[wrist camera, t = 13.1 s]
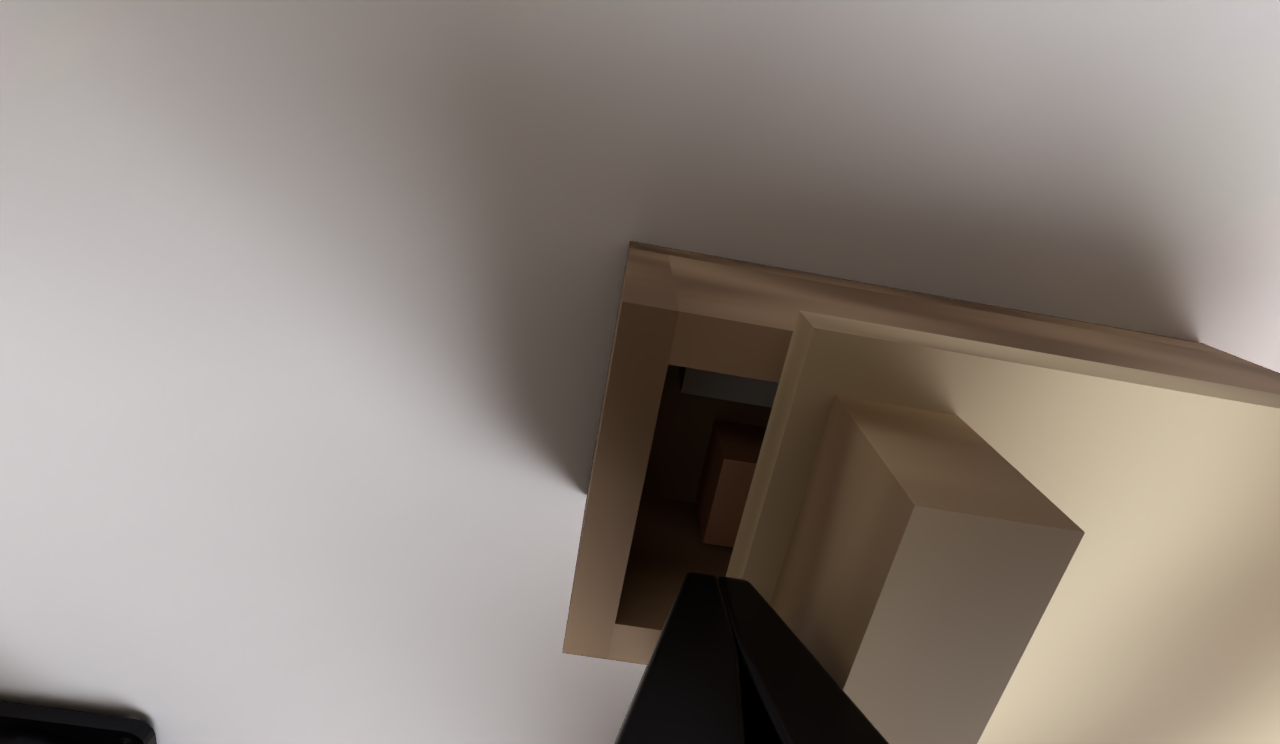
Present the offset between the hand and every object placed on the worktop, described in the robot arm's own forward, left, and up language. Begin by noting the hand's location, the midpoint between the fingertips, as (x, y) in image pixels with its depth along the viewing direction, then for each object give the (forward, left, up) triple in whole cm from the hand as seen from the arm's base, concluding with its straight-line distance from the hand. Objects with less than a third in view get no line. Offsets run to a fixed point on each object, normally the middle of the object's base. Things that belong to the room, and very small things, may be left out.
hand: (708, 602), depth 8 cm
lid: (+7, 0, -2) cm, 8 cm away
